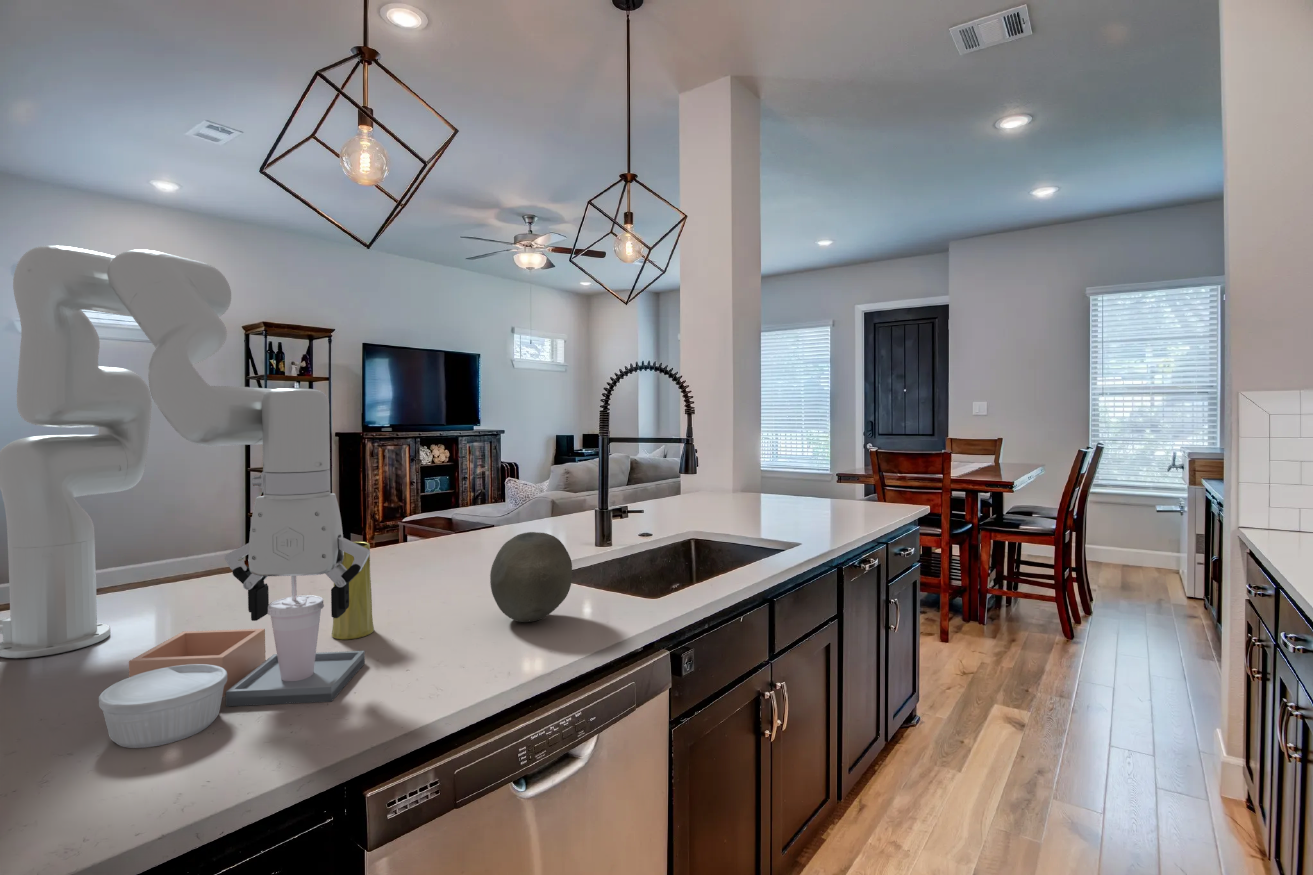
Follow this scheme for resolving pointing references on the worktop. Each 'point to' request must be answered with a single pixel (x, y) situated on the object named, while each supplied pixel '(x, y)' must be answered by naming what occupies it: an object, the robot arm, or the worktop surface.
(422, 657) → the worktop surface
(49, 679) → the worktop surface
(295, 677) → the smoothie
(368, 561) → the vase
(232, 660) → the holder
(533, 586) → the dark grey ball
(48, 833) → the worktop surface
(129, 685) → the ramekin
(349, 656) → the tray
